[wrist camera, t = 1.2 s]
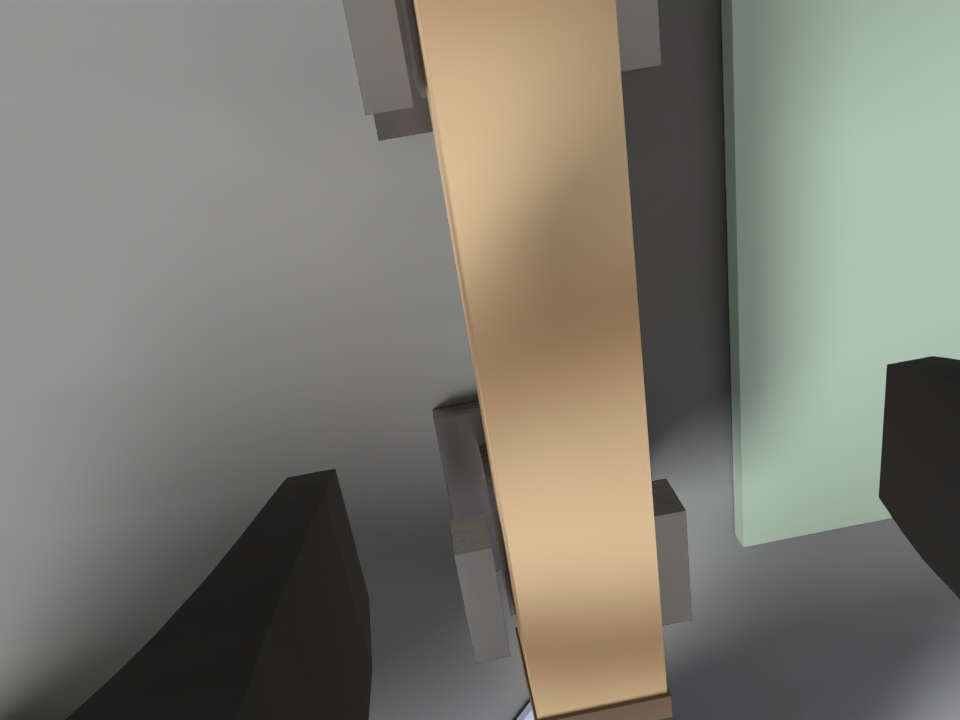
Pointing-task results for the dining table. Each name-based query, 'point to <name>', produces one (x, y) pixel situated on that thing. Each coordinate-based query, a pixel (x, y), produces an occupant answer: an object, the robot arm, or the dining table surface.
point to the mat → (834, 242)
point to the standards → (476, 528)
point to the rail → (554, 336)
